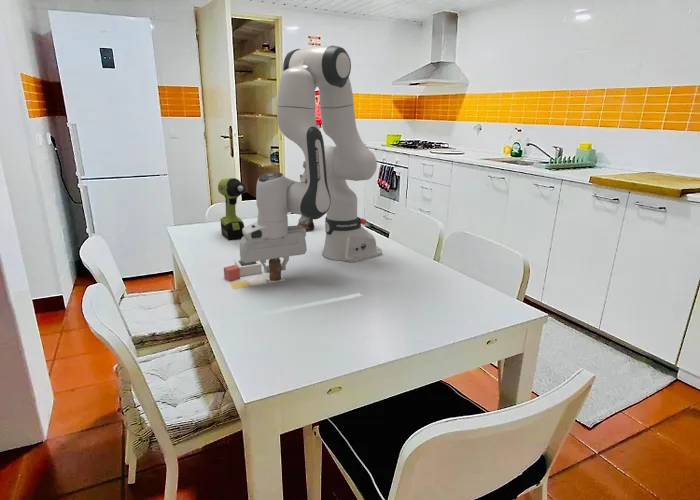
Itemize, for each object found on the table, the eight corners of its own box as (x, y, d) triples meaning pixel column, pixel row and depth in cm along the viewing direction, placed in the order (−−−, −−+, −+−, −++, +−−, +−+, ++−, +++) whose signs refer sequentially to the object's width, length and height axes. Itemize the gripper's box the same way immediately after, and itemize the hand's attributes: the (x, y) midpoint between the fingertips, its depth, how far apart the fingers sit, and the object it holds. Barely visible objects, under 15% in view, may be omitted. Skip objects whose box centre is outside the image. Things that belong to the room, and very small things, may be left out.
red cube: (234, 275, 134) (233, 265, 133) (240, 278, 132) (239, 268, 130) (224, 278, 132) (223, 267, 131) (229, 281, 129) (228, 270, 128)
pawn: (279, 275, 134) (278, 251, 131) (282, 279, 131) (281, 255, 128) (268, 277, 133) (267, 253, 130) (271, 281, 130) (270, 256, 127)
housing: (256, 266, 142) (255, 257, 141) (261, 273, 136) (261, 264, 135) (235, 269, 139) (234, 260, 138) (239, 276, 133) (239, 267, 132)
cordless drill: (255, 245, 167) (251, 181, 158) (237, 247, 163) (232, 183, 155) (236, 230, 185) (231, 173, 177) (219, 233, 181) (214, 174, 173)
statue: (300, 226, 193) (298, 159, 183) (316, 227, 192) (315, 160, 182) (295, 231, 186) (293, 162, 176) (311, 232, 185) (310, 162, 175)
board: (270, 264, 146) (270, 261, 146) (289, 286, 129) (289, 282, 129) (220, 272, 139) (220, 269, 138) (233, 296, 122) (233, 292, 122)
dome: (253, 266, 140) (252, 254, 139) (256, 270, 137) (255, 258, 135) (239, 268, 138) (238, 256, 137) (242, 272, 135) (242, 260, 133)
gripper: (302, 221, 134) (303, 262, 138) (236, 229, 125) (240, 272, 129) (309, 226, 128) (310, 269, 133) (241, 234, 120) (244, 279, 124)
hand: (275, 271), depth 131 cm, fingers closed on pawn, 4 cm apart
